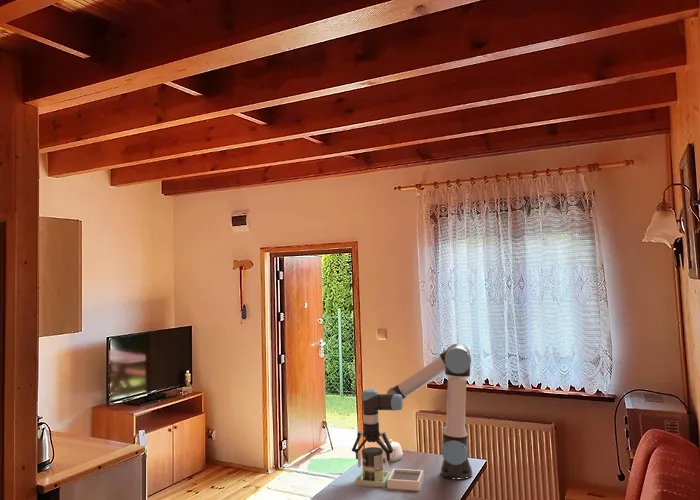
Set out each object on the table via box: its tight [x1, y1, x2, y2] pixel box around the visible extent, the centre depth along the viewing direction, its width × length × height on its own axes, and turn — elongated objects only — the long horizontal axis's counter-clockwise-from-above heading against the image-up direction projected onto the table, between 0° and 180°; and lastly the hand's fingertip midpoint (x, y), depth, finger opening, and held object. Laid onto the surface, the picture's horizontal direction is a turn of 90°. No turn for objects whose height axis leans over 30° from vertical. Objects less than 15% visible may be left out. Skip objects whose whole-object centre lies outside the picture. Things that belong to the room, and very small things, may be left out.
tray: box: [355, 469, 391, 489], centre depth 256 cm, size 14×14×2 cm
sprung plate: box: [392, 472, 420, 481], centre depth 252 cm, size 12×12×1 cm
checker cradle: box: [386, 468, 425, 492], centre depth 251 cm, size 15×15×4 cm
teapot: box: [380, 438, 404, 462], centre depth 287 cm, size 20×12×10 cm, turn 10°
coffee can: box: [361, 446, 384, 482], centre depth 256 cm, size 10×10×14 cm
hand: (373, 466), depth 256 cm, fingers open, 13 cm apart
